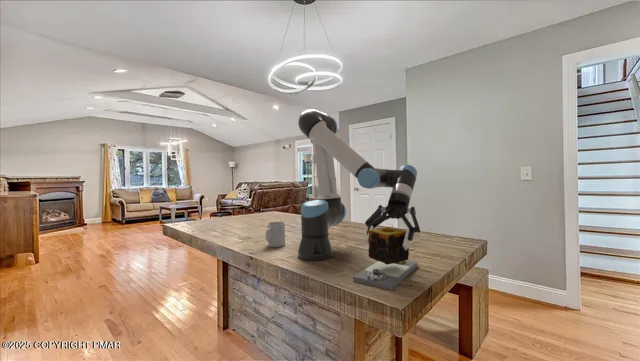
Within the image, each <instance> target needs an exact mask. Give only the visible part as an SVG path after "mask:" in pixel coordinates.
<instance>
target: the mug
mask: <svg viewBox="0 0 640 361" xmlns="http://www.w3.org/2000/svg"><path fill="white" fill-rule="evenodd" d="M265 240H266V242H267V244H268V247H271V248H281V247H284V246H286V224H285V222H283V221H273V222H268V223H267V229H266V232H265Z"/></svg>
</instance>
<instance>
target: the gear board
mask: <svg viewBox="0 0 640 361" xmlns="http://www.w3.org/2000/svg"><path fill="white" fill-rule="evenodd" d="M417 267H418V261H414V260H413V261H412V260H409V259H408V260H405V261H401V262H397V263H393V264H388V265H387V264H385V263H383V262H380V261H377V260H376V261H374V262H373V263H372V264H371V265H369V266H368V267H366V268H364V269H362V271H359V272H358V273H356V274H354V275H353V277H352V280H353V282H356V283H359V284H364V285H369V286H372V287H377V288H380V289H385V290H390V291H393V290H394V288H396V286H398V285H399V284H400V283H401V282H402V281H403V280H404V279H405V278H406V277H407V276H409V274H411V273H412V272H413V271H414V270H416V269H417Z"/></svg>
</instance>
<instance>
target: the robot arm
mask: <svg viewBox="0 0 640 361" xmlns="http://www.w3.org/2000/svg"><path fill="white" fill-rule="evenodd" d="M297 122H298V128H299V130H300V131H301V133H302V134H304V135H305V136H306V137H307V138H308V139H309V140H310V143H311V144H312V145H313V147H314V156H315V157H314V158H315V168H316V176H317V187H318V196H317V197H316V199H315V200H309V201H306V202H304V203H302V205H301V209H300V210H301V211H300V214H301V215H300V216H301V240H300V243H299V246H298V250H297V256H298V258H299V259H302V260H306V261H324V260H328V259H330V258H332V257H333V256H334V250H333V248H332V243H331V241H330V238H329V228H331V227H335V226H338V225H339V224H340V223H342V222H343V221H344V219H345V217H346V214H347V208H346V206H345V204H344V203H343V202H342V197H341V195H339V194H338V187H337V181H336V172H335V171H336V169H335V161H337V162H338V163H339V164H341V166H343V167H344V168H345V169H346V170H347V171H348V172H349V173H351V174H352V176H354V178H356V179H357V181H358V184H359V186H360V187H362V188H364V189H376V188H392V190H391V192H390V195H389V199H388V201H387V205H386V206H383V205H381V204H379V205H378V206H377V209H376V210H375V211H374V212H373V213H372V214H371V215H370V217H368V218H367V219H366V220H365V222H364V224H365V226H366V227H367V230H366V234H367V236H366V238H365V243H367V246H369V231H368V230H372V229H376V228H377V227H378V226H379V225H381V224H382V223H384V222H385V221H386V220H389V219H393V220H394V219H396V220H400V219H401V220H402V221H403V222H404V224H405V226H406V227H407V228H408V229H406V230H405V231H406V235H405V238H404V242H403V247H404V250H407V248H409V244H410V242H411V241H413V239H414V234H415V233H418V234H419V233H421V229H420V225H419V222H418V220H417V217H416V216H417V215H416V214H417V210H416V209H415V208H416V207H415V206H411V207H409V205H410V202H411V198H412V196H413V191H414V188H415V184H416V181H417V176H418V171H417V169H416V167H414V166H413V165H412V164H411V165H410V164H404V165H401V166H400V167H399V169H387V168H378V167H377V168H376V167H374V166H373V165H371V164H370V163H369V162H368V161H367V160H366V159H365V158H364V157H362V156H361V155H360V154H359V153H357V151H355V150H354V149H353V148H352V147H351V146H349V145H348V144H347V143H346V142H344V141H343V139H341V138H340V137H339V136H338V135H337V132H338V123H337V121H336V119H335V118H334V117H333V116H331V115H330V114H328V113H325V112H322V111H319V110H317V109H311V108H310V109H307V110H305V111H303V112H301V113H300V115H299V117H298V121H297ZM334 159H335V161H334ZM408 213H409V214H410V215H411V218H412V222H413V224H414V226H413V225H412V223H411V222H410V221H409V219H408V218H407V217H406V214H408Z"/></svg>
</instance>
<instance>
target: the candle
mask: <svg viewBox="0 0 640 361" xmlns="http://www.w3.org/2000/svg"><path fill="white" fill-rule="evenodd" d="M367 230H368V229H367ZM368 231H369V245H368V250H367V251H368V258H370V259H373V260H374V261H376V262H377V261H380V262H383V263H385V264H387V265H388V264H393V263H397V262H401V261H405V260H408V261H409V256H410V252H409V250H410V249H409V247H408V248H407V250H404V247H403V242H404V238H405V235H406V231H407V230H405V229H404V230H403V229H401V228H400V229H399V228H394V227H390V226H389V227H388V226H387V227H379V228H374V229H372V230H368Z"/></svg>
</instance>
